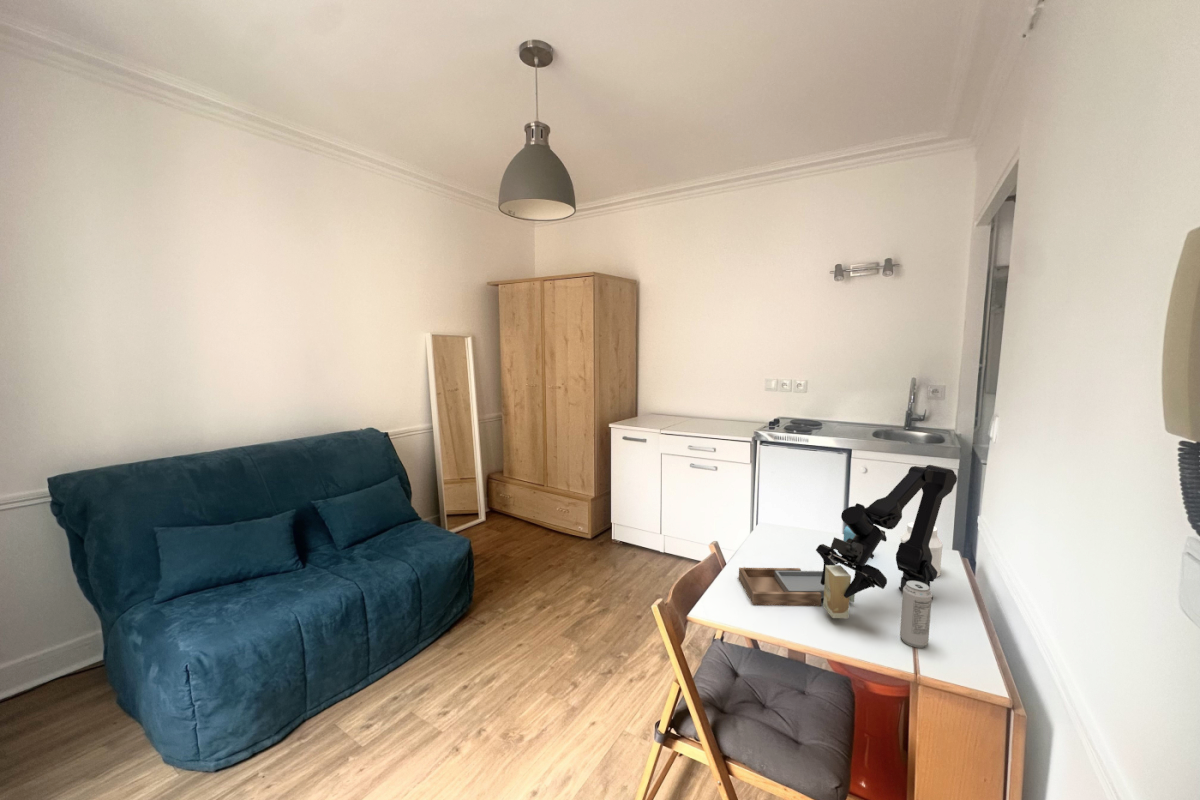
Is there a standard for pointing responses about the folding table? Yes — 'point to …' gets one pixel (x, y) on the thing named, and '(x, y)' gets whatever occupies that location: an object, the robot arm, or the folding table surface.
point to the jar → (934, 546)
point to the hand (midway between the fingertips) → (833, 590)
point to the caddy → (773, 589)
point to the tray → (802, 581)
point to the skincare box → (836, 591)
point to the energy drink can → (915, 614)
